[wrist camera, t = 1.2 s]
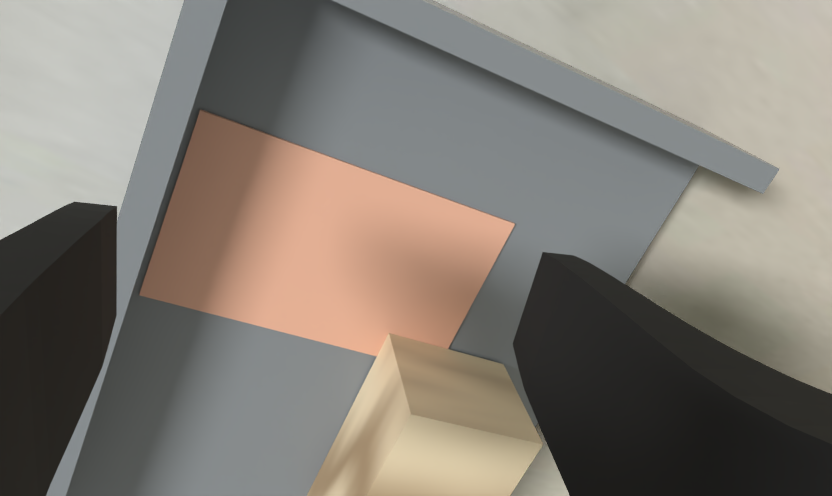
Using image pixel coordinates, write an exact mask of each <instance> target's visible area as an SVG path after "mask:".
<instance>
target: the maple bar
mask: <svg viewBox="0 0 832 496" xmlns="http://www.w3.org/2000/svg"><path fill="white" fill-rule="evenodd" d="M542 446H543V443H542V441H541V439H540V437H539V435H538V433H537V431H536V429H535V427H534V425H533V423H532V421H531V419H530V417H529V415H528V413H527V411H526V409H525V407H524V405H523V403H522V401H521V399H520V397H519V395H518V393H517V391H516V389H515V387H514V384H513V382H512V380H511V378H510V376H509V374H508V372H507V370H506V368H505V366H504V364H501V363H497V362H494V361H490V360H486V359H483V358H479V357H475V356H472V355H468V354H464V353H461V352H457V351H453V350H450V349H446V348H442V347H439V346H435V345H431V344H428V343H424V342H420V341H417V340H413V339H409V338H406V337H402V336H398V335H395V334H391V333H388V335H387V337H386V339H385V341H384V343H383V345H382V347H381V349H380V351H379V353H378V355H377V357H376V359H375V361H374V363H373V365H372V367H371V369H370V371H369V373H368V375H367V377H366V379H365V381H364V383H363V385H362V387H361V389H360V391H359V393H358V395H357V397H356V399H355V401H354V403H353V405H352V407H351V409H350V411H349V413H348V415H347V417H346V419H345V421H344V423H343V425H342V427H341V429H340V431H339V433H338V435H337V437H336V439H335V441H334V443H333V445H332V447H331V448H330V450H329V452H328V454H327V456H326V458H325V460H324V462H323V464H322V466H321V468H320V470H319V472H318V474H317V476H316V478H315V480H314V482H313V484H312V486H311V488H310V490H309V492H308V494H307V496H510V495H511V493H512V492H513V490H514V489H515V487H516V486H517V484H518V483H519V481H520V479H521V478H522V476H523V475H524V473H525V472H526V470H527V469H528V467H529V466H530V464H531V463H532V461H533V460H534V458H535V457H536V455H537V454H538V452H539V450H540V449H541V447H542Z"/></svg>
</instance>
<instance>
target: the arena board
mask: <svg viewBox="0 0 832 496" xmlns="http://www.w3.org/2000/svg"><path fill="white" fill-rule="evenodd" d="M699 165H700V166H702V167H704V168H707V169H709V170H711V171H713V172H716V173H718V174H720V175H722V176H724V177H727V178H729V179H731V180H733V181H736V182H738V183H740V184H742V185H745V186H747V187H749V188H751V189H753V190H756V191H758V192H760V193H762V194H763V193H764V192H765V190H766V189H767V187H768V186H769V184H770V183H771V181H772V180H773V178H774V177H775V175H776V174H777V172H778V171H779V168H777V167H775V166H773V165H771V164H769V163H767V162H765V161H763V160H762V159H760V158H758V157H756V156H754V155H752V154H750V153H748V152H746V151H744V150H743V149H741V148H739V147H737V146H735V145H733V144H731V143H729V142H727V141H725V140H724V139H722V138H720V137H718V136H716V135H714V134H712V133H710V132H708V131H706V130H704V129H702V128H700V127H698V126H696V125H694V124H692V123H690V122H687V121H685V120H683V119H681V118H679V117H677V116H675V115H673V114H671V113H669V112H666V111H664V110H662V109H660V108H658V107H656V106H654V105H652V104H650V103H647V102H645V101H643V100H641V99H639V98H637V97H635V96H633V95H631V94H629V93H626V92H624V91H622V90H620V89H618V88H616V87H614V86H612V85H610V84H607V83H605V82H603V81H601V80H599V79H597V78H595V77H593V76H591V75H589V74H586V73H584V72H582V71H580V70H578V69H576V68H574V67H572V66H570V65H568V64H565V63H563V62H561V61H559V60H557V59H555V58H553V57H551V56H549V55H546V54H544V53H542V52H540V51H538V50H536V49H534V48H532V47H530V46H528V45H525V44H523V43H521V42H519V41H517V40H515V39H513V38H511V37H509V36H507V35H504V34H502V33H500V32H498V31H496V30H494V29H492V28H490V27H488V26H485V25H483V24H481V23H479V22H477V21H475V20H473V19H471V18H469V17H467V16H464V15H462V14H460V13H458V12H456V11H454V10H452V9H450V8H448V7H446V6H443V5H441V4H439V3H437V2H435V1H433V0H184V3H183V6H182V9H181V13H180V16H179V19H178V22H177V26H176V29H175V32H174V36H173V39H172V42H171V46H170V49H169V52H168V55H167V59H166V62H165V65H164V69H163V72H162V75H161V79H160V82H159V85H158V88H157V92H156V95H155V98H154V102H153V105H152V108H151V111H150V115H149V118H148V121H147V125H146V128H145V131H144V135H143V138H142V141H141V144H140V148H139V151H138V154H137V158H136V161H135V164H134V168H133V171H132V174H131V177H130V181H129V184H128V187H127V191H126V194H125V197H124V200H123V204H122V207H121V210H120V214H119V217H118V220H117V316H116V319H115V323H114V327H113V331H112V334H111V338H110V342H109V345H108V349H107V352H106V356H105V359H104V363H103V366H102V369H101V371H100V374H99V376H98V378H97V381H96V383H95V385H94V387H93V390H92V392H91V394H90V397H89V399H88V401H87V403H86V406H85V408H84V410H83V412H82V415H81V417H80V419H79V421H78V424H77V426H76V428H75V430H74V433H73V435H72V437H71V439H70V442H69V444H68V446H67V448H66V451H65V453H64V455H63V457H62V460H61V462H60V464H59V466H58V469H57V471H56V473H55V475H54V478H53V480H52V482H51V484H50V487H49V489H48V492H47V495H46V496H307V494H308V492H309V490H310V488H311V486H312V484H313V482H314V480H315V478H316V476H317V474H318V472H319V470H320V468H321V466H322V464H323V462H324V460H325V458H326V456H327V454H328V452H329V450H330V448H331V447H332V445H333V443H334V441H335V439H336V437H337V435H338V433H339V431H340V429H341V427H342V425H343V423H344V421H345V419H346V417H347V415H348V413H349V411H350V409H351V407H352V405H353V403H354V401H355V399H356V397H357V395H358V393H359V391H360V389H361V387H362V385H363V383H364V381H365V379H366V377H367V375H368V373H369V371H370V369H371V367H372V365H373V363H374V361H375V359H376V357H377V355H378V353H379V351H380V349H381V347H382V345H383V343H384V341H385V339H386V337H387V335H388V333H391V334H395V335H398V336H402V337H406V338H409V339H413V340H417V341H420V342H424V343H428V344H431V345H435V346H439V347H442V348H446V349H450V350H453V351H457V352H461V353H464V354H468V355H472V356H475V357H479V358H483V359H486V360H490V361H494V362H497V363H501V364H504V366H505V368H506V370H507V372H508V374H509V376H510V378H511V380H512V382H513V384H514V387H515V389H516V391H517V393H518V395H519V397H520V399H521V401H522V403H523V405H524V407H525V409H526V411H527V413H528V415H529V417H530V419H531V421H532V423H533V425H534V427H536V425H537V424H538V421H537V419H536V417H535V414H534V412H533V409H532V407H531V405H530V402H529V400H528V397H527V395H526V392H525V390H524V387H523V383H522V379H521V376H520V372H519V369H518V364H517V360H516V356H515V352H514V348H513V341H514V338H515V335H516V332H517V329H518V326H519V323H520V319H521V316H522V313H523V310H524V307H525V304H526V301H527V298H528V295H529V292H530V289H531V286H532V283H533V280H534V277H535V274H536V271H537V268H538V265H539V262H540V259H541V256H542V253H543V252H547V253H557V254H566V255H574V256H576V257H579V258H581V259H583V260H585V261H587V262H589V263H591V264H593V265H594V266H596V267H598V268H599V269H601V270H603V271H605V272H606V273H608V274H609V275H611V276H613V277H614V278H616V279H617V280H619V281H621V282H622V283H624V284H625V283H626V282H627V280H628V278H629V277H630V275H631V274H632V272H633V270H634V269H635V267H636V266H637V264H638V262H639V261H640V259H641V258H642V256H643V254H644V253H645V251H646V250H647V248H648V246H649V245H650V243H651V242H652V240H653V238H654V237H655V235H656V234H657V232H658V230H659V229H660V227H661V226H662V224H663V222H664V221H665V219H666V218H667V216H668V214H669V213H670V211H671V210H672V208H673V206H674V205H675V203H676V202H677V200H678V198H679V197H680V195H681V194H682V192H683V190H684V189H685V187H686V186H687V184H688V182H689V181H690V179H691V178H692V176H693V174H694V173H695V171H696V170H697V168H698V166H699Z"/></svg>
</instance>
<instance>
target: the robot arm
mask: <svg viewBox="0 0 832 496" xmlns="http://www.w3.org/2000/svg"><path fill="white" fill-rule="evenodd" d="M116 316H117V206H108V205H99V204H90V203H80V202H73V203H71V204H68V205H66V206H64V207H62V208H60V209H58V210H56V211H54V212H52V213H50V214H48V215H46V216H45V217H43V218H41V219H39V220H37V221H35V222H34V223H32V224H30V225H28V226H26V227H24V228H22V229H20V230H19V231H17V232H15V233H13V234H11V235H9V236H7V237H5V238H3V239H1V240H0V496H46V495H47V492H48V489H49V487H50V484H51V482H52V480H53V478H54V475H55V473H56V471H57V469H58V466H59V464H60V462H61V460H62V457H63V455H64V453H65V451H66V448H67V446H68V444H69V442H70V439H71V437H72V435H73V433H74V430H75V428H76V426H77V424H78V421H79V419H80V417H81V415H82V412H83V410H84V408H85V406H86V403H87V401H88V399H89V397H90V394H91V392H92V390H93V387H94V385H95V383H96V381H97V378H98V376H99V374H100V371H101V369H102V366H103V363H104V359H105V356H106V352H107V349H108V345H109V342H110V338H111V334H112V331H113V327H114V323H115V319H116ZM513 348H514V352H515V356H516V360H517V364H518V369H519V372H520V376H521V379H522V383H523V387H524V390H525V392H526V395H527V397H528V400H529V402H530V405H531V407H532V409H533V412H534V414H535V417H536V419H537V421H538V424H539V426H540V428H541V431H542V433H543V435H544V437H545V440H546V442H547V444H548V447H549V449H550V451H551V453H552V456H553V458H554V460H555V463H556V465H557V467H558V469H559V472H560V474H561V476H562V479H563V481H564V483H565V485H566V488H567V490H568V492H569V495H570V496H832V394H830V393H827V392H825V391H822V390H820V389H817V388H815V387H812V386H810V385H808V384H805V383H803V382H800V381H798V380H796V379H794V378H791V377H789V376H787V375H785V374H782V373H780V372H778V371H776V370H774V369H772V368H770V367H768V366H766V365H764V364H762V363H760V362H758V361H756V360H754V359H752V358H749V357H747V356H745V355H743V354H741V353H739V352H737V351H736V350H734V349H732V348H730V347H728V346H726V345H724V344H722V343H721V342H719V341H717V340H715V339H714V338H712V337H710V336H708V335H707V334H705V333H703V332H701V331H700V330H698V329H696V328H694V327H693V326H691V325H689V324H688V323H686V322H684V321H683V320H681V319H679V318H678V317H676V316H674V315H673V314H671V313H670V312H668V311H666V310H665V309H663V308H662V307H660V306H658V305H657V304H655V303H654V302H652V301H650V300H649V299H647V298H646V297H644V296H643V295H641V294H639V293H638V292H636V291H635V290H633V289H632V288H630V287H629V286H627V285H625V284H624V283H622V282H621V281H619V280H617V279H616V278H614V277H613V276H611V275H609V274H608V273H606V272H605V271H603V270H601V269H599V268H598V267H596V266H594V265H593V264H591V263H589V262H587V261H585V260H583V259H581V258H579V257H576V256H574V255H566V254H557V253H547V252H543V253H542V256H541V259H540V262H539V265H538V268H537V271H536V274H535V277H534V280H533V283H532V286H531V289H530V292H529V295H528V298H527V301H526V304H525V307H524V310H523V313H522V316H521V319H520V323H519V326H518V329H517V332H516V335H515V338H514V341H513Z"/></svg>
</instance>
